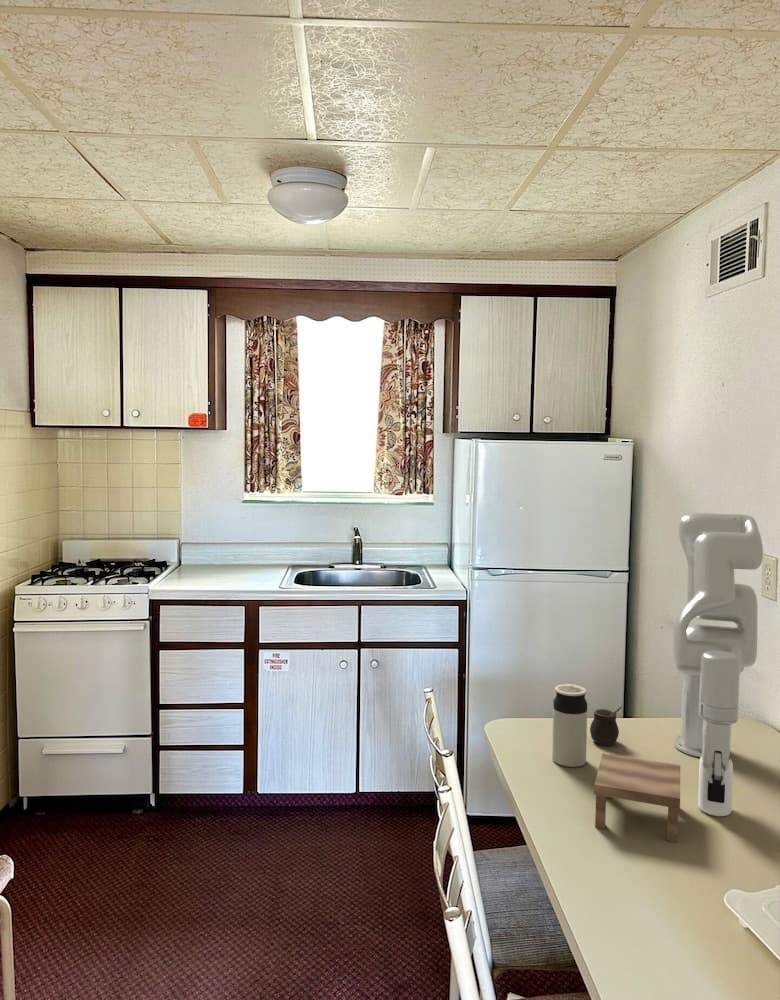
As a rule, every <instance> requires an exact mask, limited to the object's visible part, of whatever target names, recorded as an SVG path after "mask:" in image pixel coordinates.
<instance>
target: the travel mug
mask: <svg viewBox="0 0 780 1000" xmlns="http://www.w3.org/2000/svg"><path fill="white" fill-rule="evenodd" d="M554 691H555V693H556V695H555V698H554V699H553V704H552V705H553V708H552V711H553V712H552V754H551V756H552V757H551V758H552V760H553V761H554V762H555V763H556V764H558V765H560V766H563V767H566V768H578V767H581V766H585V764H586V762H587V740H588V739H587V735H588V734H587V733H588V732H587V730H588V701H587V700H586V698H585V697H586V694H587V692H588V690H587V689H586V688H585V687H583V686H582V685H579V684H578V685H577V684H571V683H563V684H557V685H556V686H555V687H554Z"/></svg>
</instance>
